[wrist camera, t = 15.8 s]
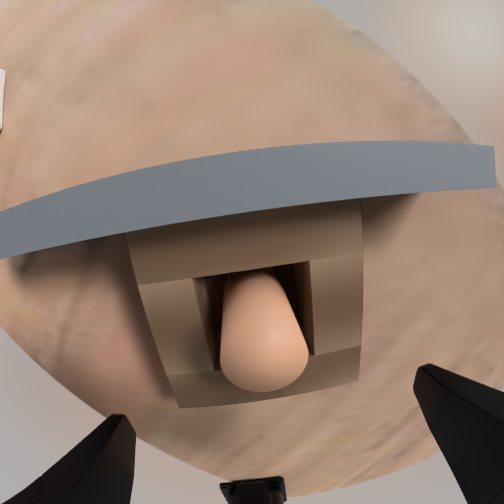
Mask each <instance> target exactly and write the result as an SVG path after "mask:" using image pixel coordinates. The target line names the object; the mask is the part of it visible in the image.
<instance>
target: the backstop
mask: <svg viewBox="0 0 504 504" xmlns="http://www.w3.org/2000/svg"><path fill="white" fill-rule="evenodd" d="M483 188H496V174H495V158H494V147H493V146H484V145H474V144H462V143H448V142H427V141H355V142H333V143H317V144H303V145H292V146H281V147H272V148H263V149H255V150H247V151H239V152H232V153H225V154H219V155H212V156H206V157H200V158H194V159H189V160H183V161H178V162H173V163H168V164H163V165H158V166H154V167H149V168H144V169H140V170H136V171H131V172H127V173H123V174H119V175H115V176H111V177H107V178H103V179H100V180H96V181H92V182H89V183H85V184H82V185H78V186H75V187H71V188H68V189H65V190H62V191H58V192H55V193H52V194H49V195H46V196H43V197H40V198H37V199H34V200H31V201H28V202H26V203H23V204H20V205H17V206H15V207H12V208H9V209H7V210H4V211H2V212H0V259H4V258H8V257H12V256H16V255H20V254H24V253H29V252H33V251H37V250H42V249H46V248H51V247H55V246H60V245H64V244H69V243H74V242H79V241H83V240H88V239H93V238H98V237H103V236H108V235H113V234H119V233H124V232H129V231H134V230H140V229H145V228H151V227H157V226H162V225H168V224H174V223H180V222H186V221H192V220H198V219H204V218H210V217H217V216H223V215H230V214H237V213H244V212H251V211H258V210H265V209H272V208H280V207H287V206H295V205H303V204H311V203H320V202H328V201H337V200H346V199H355V198H365V197H375V196H386V195H397V194H408V193H421V192H434V191H448V190H464V189H483Z"/></svg>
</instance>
